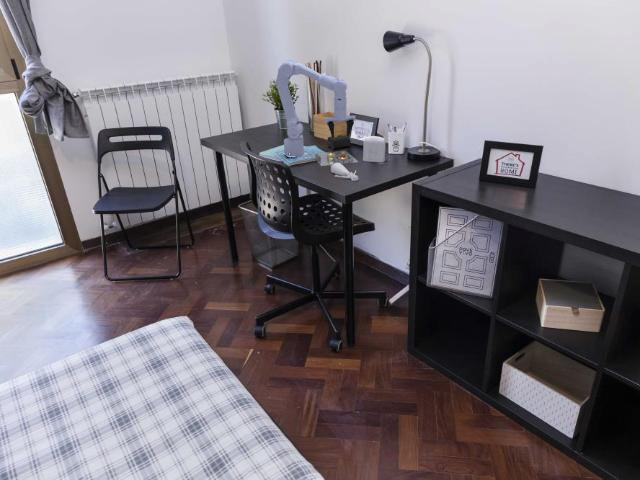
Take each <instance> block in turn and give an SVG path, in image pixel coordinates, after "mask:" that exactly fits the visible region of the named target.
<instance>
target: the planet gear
mask: <svg viewBox="0 0 640 480" xmlns="http://www.w3.org/2000/svg"><path fill="white" fill-rule="evenodd" d="M340 151H341V156H338V159H339V160H347V159H348V156H345V151H346V150H340Z"/></svg>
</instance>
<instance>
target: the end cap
mask: <svg viewBox="0 0 640 480" xmlns="http://www.w3.org/2000/svg"><path fill="white" fill-rule="evenodd" d="M326 141H327V147H328V148H330V150H338V149H344V148H348V147H350V146H351V139H350V135H349V136H347V134H345V135H342V134H340V135H337V136H334V138H332V137H331V136H328V137H327V140H326Z"/></svg>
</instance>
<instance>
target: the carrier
mask: <svg viewBox="0 0 640 480" xmlns="http://www.w3.org/2000/svg"><path fill="white" fill-rule="evenodd" d="M341 151H342V150H338V151H328V152H327V151H326V152H320V153H319V152H316V153H310V155H311V156H312V158H314V160H316V162H317V163H318V164H319V165H320V166H321V167H323V166H324V167H326V166H331V164H332V165H333V164H335V163H341V164H342V165H344V164H352V163H353V164H354V163H359V161H358V160H357V158H355V157H354V156H353V155H351V154H350V153H349V152H348V151H347V150H344V151H345V156H348V159H347V160H339V159H338V156H341Z"/></svg>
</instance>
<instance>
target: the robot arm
mask: <svg viewBox="0 0 640 480" xmlns="http://www.w3.org/2000/svg"><path fill="white" fill-rule="evenodd" d="M293 75H294V76H298V75H303V76H305V77H307V78H310V79H312V80H314V81H316V82H317V83H318V85H319V86H321V87H323V88H325V89H327V90H329V91H333V94H334V96H333V110H334V111H333V116H330V117H324V123H325V124H326V125H327V126H328V129H329V131H330V137H332V138H334V137H335V124H334V123H338V122H345V123H346V124H345V125H346V135H347V136H349V137H350V134H351V131H352V128H353V126H354V124H355V121H356V115H347V92H346V91H347V90H348V89H347V88H348V85H347V82H346V81H345V80H344V79H340V78H339V77H337V78H336V77H334V76H332V75H330V73H329V72H322V73H319V72H317V71H315V70H314V69H311V68H310V67H308V66H306V65H304V64H302V63H300V62H298V61H297V62H296V61H294V60H292V59H291V60H290V59H289V60H287V61H286V62H285V61H284V62H283V63H282V64H281V65H280V66H279V68H278V69H277V75H276V81H275V84H276V88H277V91H278V95H279V98H280V101H281V105H282V109H283V111H284V114H285V119H286V127H287V131H286V133H287V138H284V139H283V148H284V153H285V154H284V155H286V156H287V157H288V156H297V157H298V156H303V155H304V153H305V151H304V150H305V149H304V146H305V145H304V136H303V132H304V129H305V128H304V125H303V124H302V123H301V121H300V118H299V117H298V115H297V113H296V112H297V111H296V108H295V105H294V102H293V98H292V95H291V92H290V88H289V85H288V83H289V81H290V80H291V78H292V77H293ZM289 153H290V155H289ZM286 156H285V157H286ZM287 157H286V158H287Z"/></svg>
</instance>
